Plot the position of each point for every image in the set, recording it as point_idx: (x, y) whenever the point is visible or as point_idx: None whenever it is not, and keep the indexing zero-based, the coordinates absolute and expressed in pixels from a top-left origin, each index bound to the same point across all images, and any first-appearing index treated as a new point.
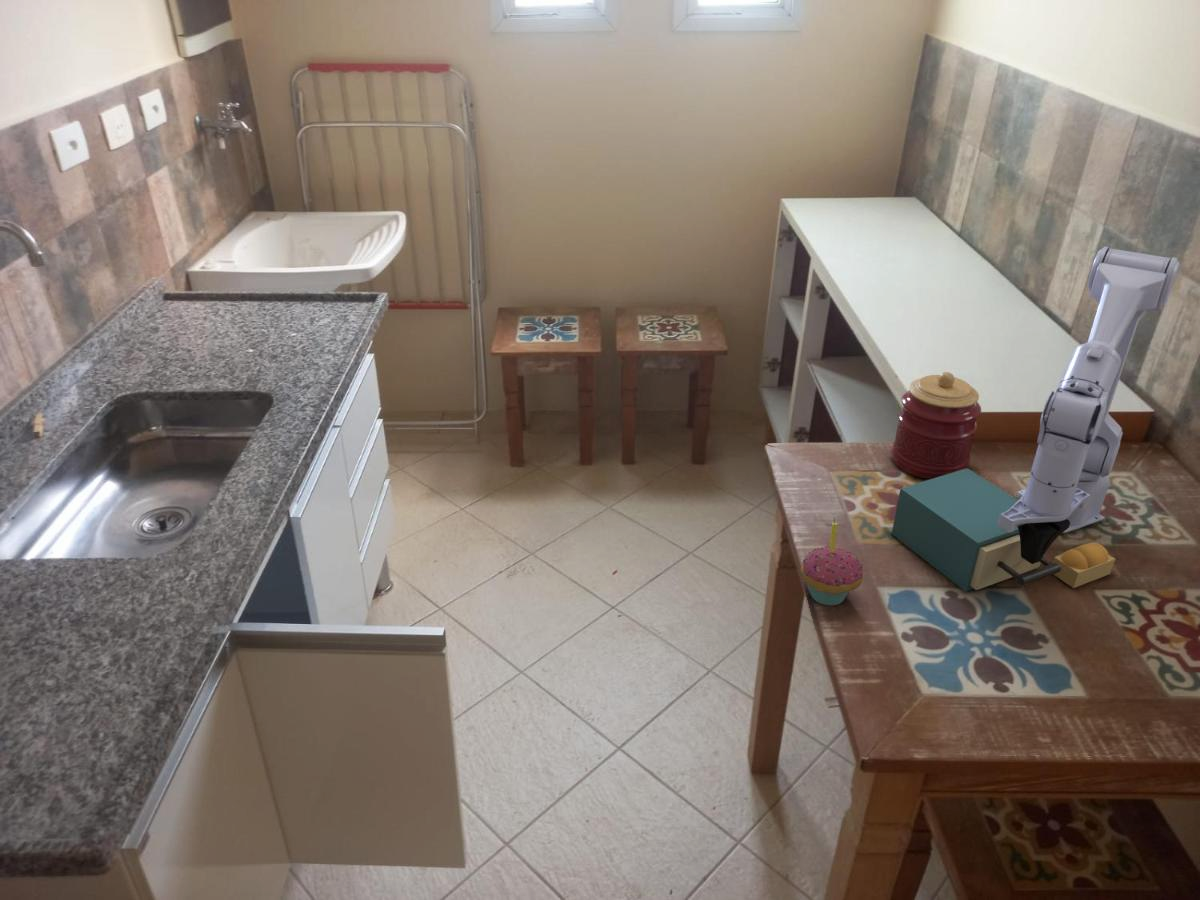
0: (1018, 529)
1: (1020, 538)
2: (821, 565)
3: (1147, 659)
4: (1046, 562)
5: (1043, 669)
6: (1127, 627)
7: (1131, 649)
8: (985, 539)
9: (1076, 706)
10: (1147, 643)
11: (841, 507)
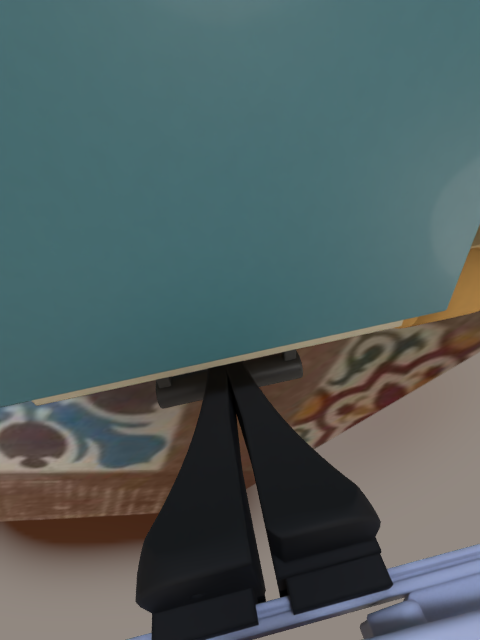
0: (182, 467)
1: (197, 424)
2: None
3: None
4: (284, 355)
5: (126, 442)
6: (325, 390)
7: (287, 420)
8: (33, 397)
9: (134, 479)
10: (319, 414)
11: None
